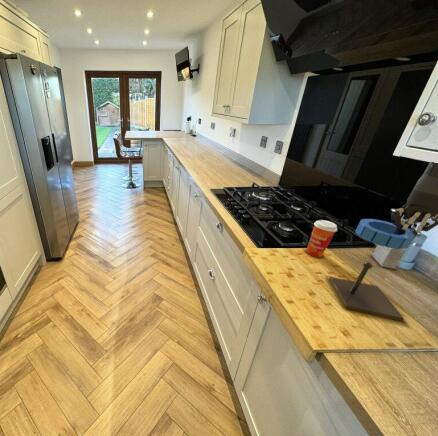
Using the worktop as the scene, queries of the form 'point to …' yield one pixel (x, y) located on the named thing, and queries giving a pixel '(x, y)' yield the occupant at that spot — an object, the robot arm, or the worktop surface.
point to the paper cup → (320, 237)
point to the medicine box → (388, 256)
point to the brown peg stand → (364, 296)
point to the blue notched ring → (383, 234)
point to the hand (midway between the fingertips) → (402, 239)
